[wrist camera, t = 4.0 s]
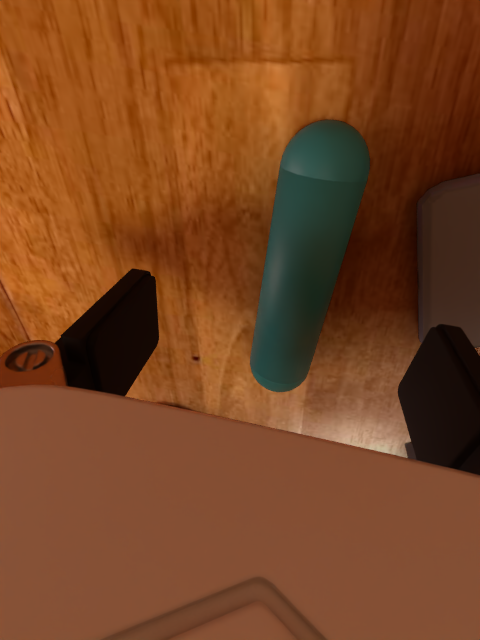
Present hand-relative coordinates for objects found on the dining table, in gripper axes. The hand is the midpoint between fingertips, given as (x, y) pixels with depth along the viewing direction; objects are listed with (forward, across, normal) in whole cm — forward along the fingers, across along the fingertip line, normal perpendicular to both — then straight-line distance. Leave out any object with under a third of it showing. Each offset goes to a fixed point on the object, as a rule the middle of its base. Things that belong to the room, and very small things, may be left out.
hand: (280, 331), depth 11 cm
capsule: (+5, 0, 0) cm, 5 cm away
